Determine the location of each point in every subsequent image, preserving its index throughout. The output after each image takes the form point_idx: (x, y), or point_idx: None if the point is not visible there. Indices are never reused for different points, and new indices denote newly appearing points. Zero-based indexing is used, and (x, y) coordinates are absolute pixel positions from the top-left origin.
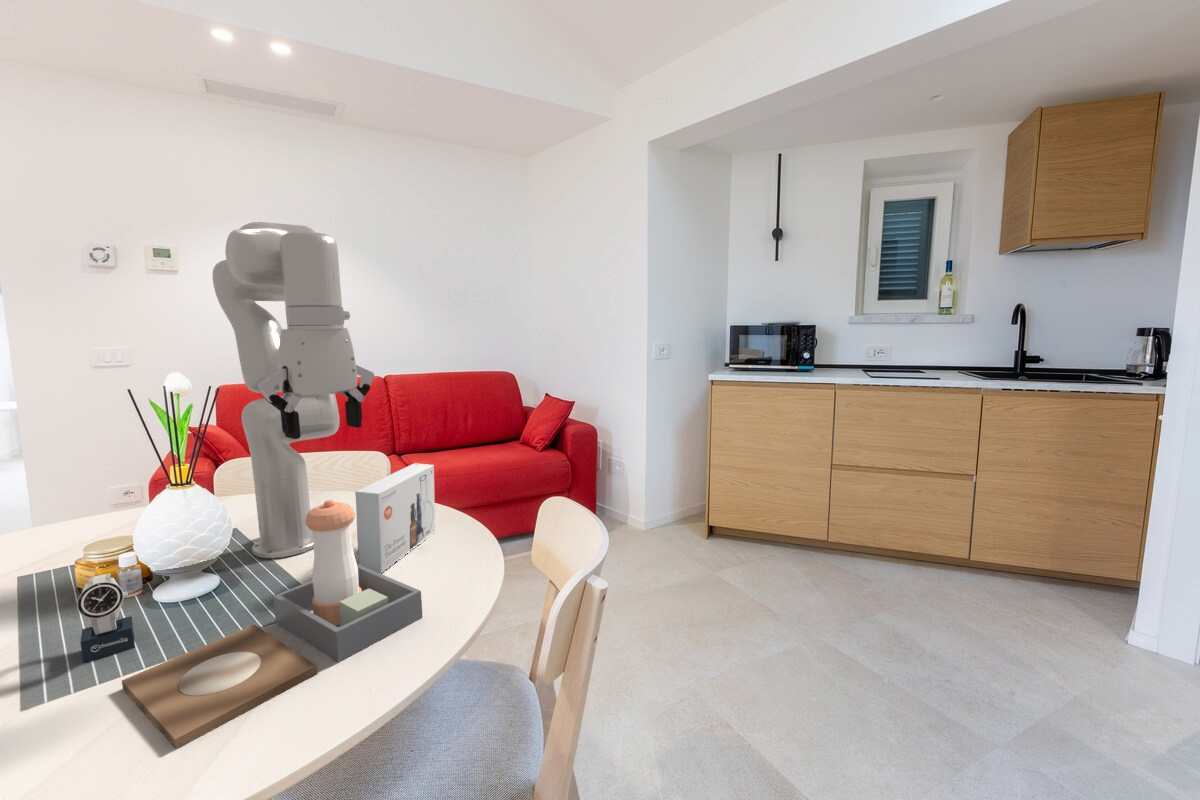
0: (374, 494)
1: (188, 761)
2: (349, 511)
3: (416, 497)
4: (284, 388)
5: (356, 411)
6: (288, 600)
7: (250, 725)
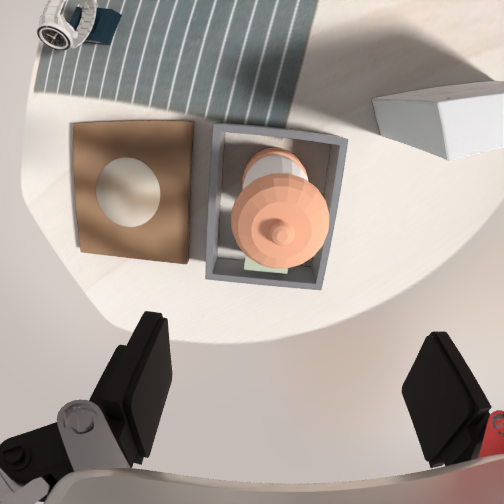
0: (444, 151)
1: (87, 267)
2: (299, 264)
3: None
4: (86, 501)
5: (419, 438)
6: (217, 157)
7: (124, 271)
